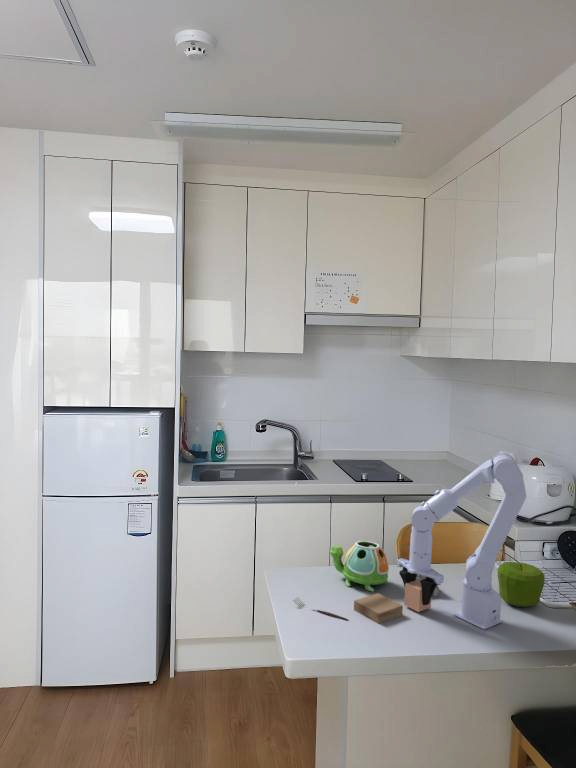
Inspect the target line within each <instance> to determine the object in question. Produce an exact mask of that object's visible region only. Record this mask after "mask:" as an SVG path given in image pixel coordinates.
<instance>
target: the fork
mask: <svg viewBox="0 0 576 768" xmlns="http://www.w3.org/2000/svg"><path fill="white" fill-rule="evenodd" d="M292 601H293V602H294V603H295V604H296V605H297V607H299V608H300V609H301V610H303V609H304V608H305V607H304V606H305V605H306V604H305V603H304V602H303V601H302V600H301V599H300V598H299V597H295V599H293V600H292ZM302 608H303V609H302ZM309 611H314V612H317V613H320V614H323V615H325V616H328V617H331V618H335V619H340V620H343V621H349V619H348V618H346V617H343V616H340V615H337V614H335V613H332V612H329V611H324V610H320V609H315V608H312V609H311V608H310V609H309Z"/></svg>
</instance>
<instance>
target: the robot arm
mask: <svg viewBox="0 0 576 768" xmlns="http://www.w3.org/2000/svg"><path fill="white" fill-rule="evenodd" d="M495 480H496V481H497V482H498V483H499V484H500V486H501V488H502V489H503V492H504V495H503V498H502V500H501V502H500V503H499V506H498V508H497V509H496V512H495V514H494V515H493V518H492V520H491V522H490V524H489V526H488V528H487V530H486V532H485V534H484V536H483V538H482V541H481V542H480V544H479V546H478V547H477V548H476V549H475V551H474V553H472V555H470V556H469V557H468V558H466V561H465V564H464V565H465V570H466V571H465V573H466V574H465V578H464V579H463V580H462V594H461V606H460V607H461V609H460V610H459V611H457V612H454V613H453V616H455V617H457V618H459V619H461V620H462V621H465V622H468V623H469V624H472V625H474V626H476V627H478V628H480V629H482V630H487V629H489V628H491V627H493V626H496V625H497V624H500V623H502V622H503V621H502V619H501V612H502V611H501V610H502V598H501V596H500V593H499V592H497V591H495V590H494V588H493V585H492V581H493V577H492V573H493V571H494V569H495V567H496V566H495V565H496V560H497V557H498V555H499V553H500V551H501V549H502V547H503V545H504V543H505V541H506V539H507V537H508V535H509V533H510V531H511V529H512V527H513V525H514V523H515V521H516V520H517V517H518V516H519V513H520V511H521V509H522V507H523V506H524V504H525V501H526V499H527V492H526V491H527V490H526V487H525V480H524V474H523V471H521V469H520V466H519V465H518V463H517V461H516V460H515V458H514V457H513V456H512V455H510V454H508V453H506V452H505V453H504V452H503V453H497V454H495V455H494V456H493V458H492V459H491V458H490V459H488V460H485V461H484V462H483V463H481V464H480V465H479V466H478V467H477V468H475V469H474V470H473V471H471V473H469V474H468V475H467V476H465V477H464V478H463V479H461V481H460V482H458V483H457V484H456V485H453V487H452V488H450V489H447V488H442V489H441V490H440V489H437V490H436V491H434V495H433V496H432V497H430V498H429V499H427V500H426V501H424V500H423V501H422V502H421V503H420V505H419V506H417V507H415V508H414V509H413V511H412V513H411V518H410V519H411V533H410V540H409V541H410V543H409V545H410V546H409V556H408V557H409V558H408V559H405V558H402V557H401V558H397V559H396V567H398V568H402V570H399V571H398V573H399V576H400V578H401V580H402V583H403V586H404V587H405V583H408V582H412V581H415V580H416V576H417V574H419V575H421V576H424V577H426V579H423V580H420V583H421V587H422V604H423V605H424V606H425V605H428V604H429V603H430V600H431V601H432V597H433V596H432V594H433V592H434V590H435V588H436V587H437V585H438V584H443V583H444V581H445V578H444V577H445V576H444V575H443V574H441V573H440V572H438V571H437V570H435V569H434V568H433V567H432V565H431V564H432V550H433V549H432V548H433V534H432V533H433V527H434V524H435V522H437V521H440V520H441V519H443V518H444V517H445V516H447V515H449V514H450V513H451V512H452V511H453V510H455V509H457V508H458V505H459V500H461V498H463V497H465V496H466V495H467V494H469V493H470V492H472V491H473V490H475V489H477V488H478V487H479V486H481V485H483V484H495V483H496V482H495Z"/></svg>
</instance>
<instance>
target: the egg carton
mask: <svg viewBox="0 0 576 768" xmlns="http://www.w3.org/2000/svg"><path fill="white" fill-rule="evenodd" d="M423 579H426V577H424V576H421V575H419V574H417V576H416V580H423ZM441 584H442V583H441ZM441 584H438V585H437V587H436V588H435V590H434V592H433V594H432V597H438V596H437V595H439V591H440V589H439V586H441Z"/></svg>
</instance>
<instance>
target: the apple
mask: <svg viewBox="0 0 576 768" xmlns="http://www.w3.org/2000/svg"><path fill="white" fill-rule="evenodd" d="M497 579H498V586H499V587H498V589H499V592H498V593H499V594H500V596H501V600H503V601H505V603H507V604H508V605H511V606H514V607H520V608H529V607H532V606H535V605H538V604H540V601H541V600H540V599H541V597H542V592H543V589H544V585H545V574H544V572H543V571H542V570H540V568H538V567H537V566H535V565H532V564H529V563H525V562H519V561H518V562H516V561H504V562H503V563H501V564H500V565H499V566H498V568H497Z"/></svg>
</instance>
